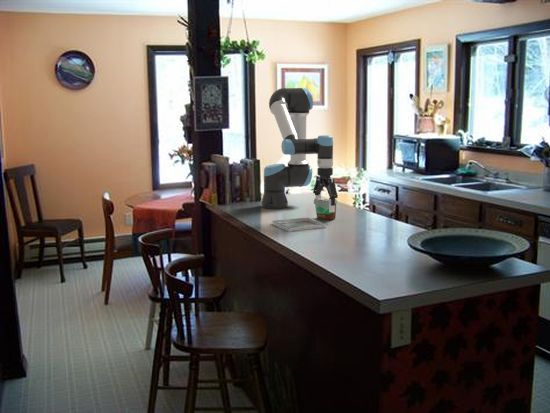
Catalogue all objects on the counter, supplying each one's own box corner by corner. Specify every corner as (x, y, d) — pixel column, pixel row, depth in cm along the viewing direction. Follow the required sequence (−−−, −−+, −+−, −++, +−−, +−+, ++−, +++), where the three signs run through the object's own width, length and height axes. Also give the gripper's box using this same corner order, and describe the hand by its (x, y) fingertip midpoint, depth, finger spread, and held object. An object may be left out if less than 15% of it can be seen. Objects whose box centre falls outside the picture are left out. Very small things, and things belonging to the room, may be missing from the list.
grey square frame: (271, 224, 289) (271, 220, 289) (308, 220, 297) (308, 217, 297) (288, 231, 273) (288, 228, 273) (326, 227, 281) (326, 224, 281)
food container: (310, 220, 299) (309, 200, 297) (315, 217, 304) (314, 197, 302) (333, 221, 294) (332, 201, 291) (338, 218, 299) (337, 198, 297)
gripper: (306, 165, 304) (306, 207, 307) (331, 169, 282) (331, 214, 285) (319, 164, 307) (319, 205, 310) (345, 169, 285) (344, 213, 288)
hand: (324, 210), depth 298 cm, fingers open, 13 cm apart
